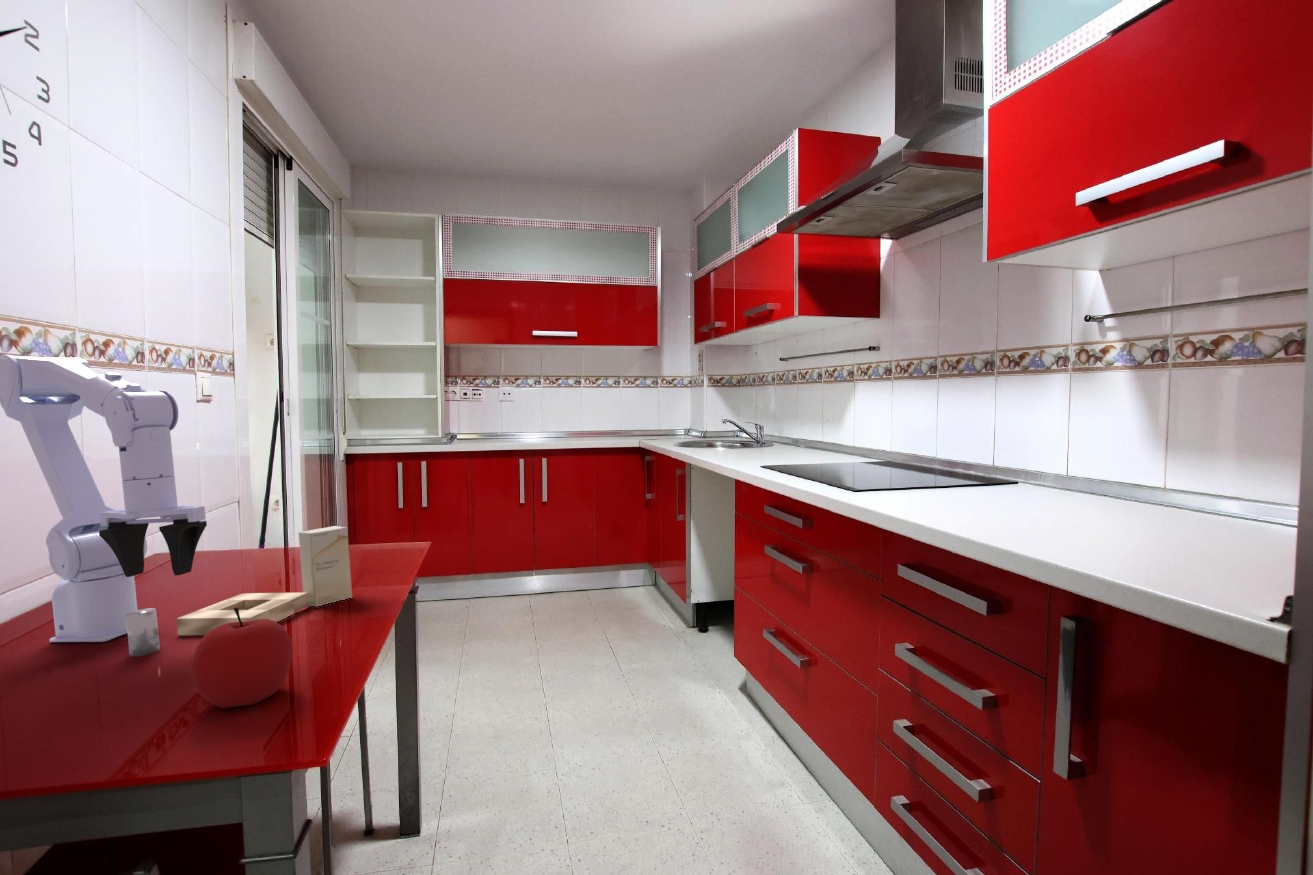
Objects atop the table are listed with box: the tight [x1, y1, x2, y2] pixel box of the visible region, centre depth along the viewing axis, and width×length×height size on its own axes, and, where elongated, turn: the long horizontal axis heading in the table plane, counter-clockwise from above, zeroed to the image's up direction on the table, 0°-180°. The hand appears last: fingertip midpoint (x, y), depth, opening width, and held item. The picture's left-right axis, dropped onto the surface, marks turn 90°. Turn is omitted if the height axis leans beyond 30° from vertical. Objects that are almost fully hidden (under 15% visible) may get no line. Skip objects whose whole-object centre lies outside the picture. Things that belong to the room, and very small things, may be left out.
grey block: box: [126, 607, 161, 658], centre depth 85 cm, size 3×3×6 cm
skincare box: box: [298, 525, 353, 607], centre depth 104 cm, size 6×4×12 cm
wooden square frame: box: [176, 591, 311, 636], centre depth 96 cm, size 12×12×2 cm
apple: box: [190, 608, 294, 709], centre depth 68 cm, size 9×9×10 cm
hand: (158, 574), depth 88 cm, fingers open, 7 cm apart
